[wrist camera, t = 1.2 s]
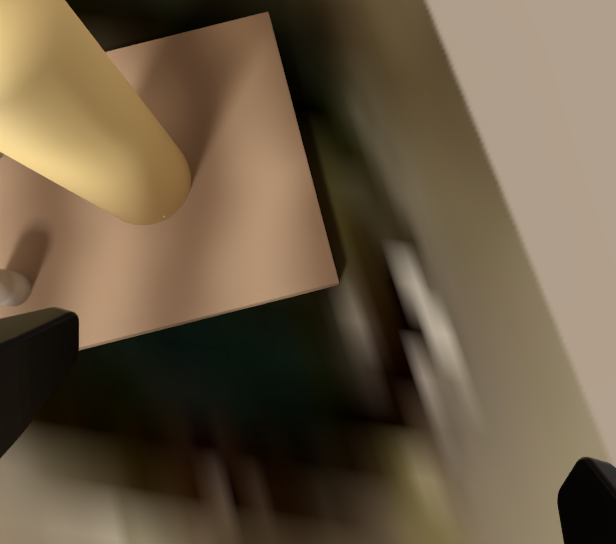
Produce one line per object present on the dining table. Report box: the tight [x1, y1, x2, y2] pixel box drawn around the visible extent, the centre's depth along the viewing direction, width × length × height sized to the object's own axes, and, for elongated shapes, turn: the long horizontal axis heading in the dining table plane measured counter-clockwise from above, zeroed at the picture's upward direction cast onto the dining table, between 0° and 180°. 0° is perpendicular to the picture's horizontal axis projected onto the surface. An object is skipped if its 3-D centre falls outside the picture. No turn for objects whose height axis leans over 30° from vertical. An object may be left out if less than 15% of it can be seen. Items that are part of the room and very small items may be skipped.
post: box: [0, 0, 191, 225], centre depth 16 cm, size 4×4×11 cm
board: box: [0, 12, 339, 350], centre depth 21 cm, size 26×14×4 cm, turn 104°
